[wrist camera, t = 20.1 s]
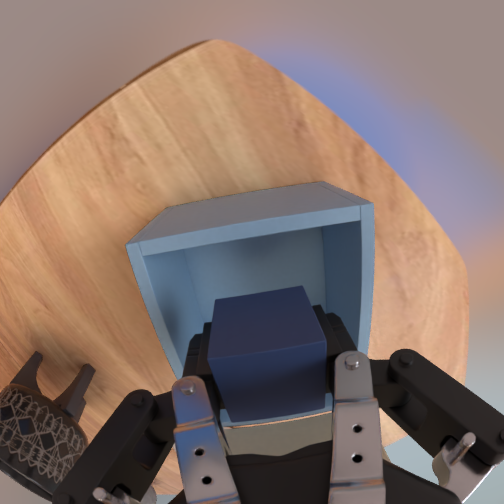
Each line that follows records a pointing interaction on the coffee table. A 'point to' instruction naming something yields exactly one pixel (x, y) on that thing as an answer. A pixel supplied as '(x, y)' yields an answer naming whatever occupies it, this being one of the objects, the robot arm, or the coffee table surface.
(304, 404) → the block
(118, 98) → the coffee table surface
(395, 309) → the coffee table surface
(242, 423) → the light blue open box
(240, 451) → the lid
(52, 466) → the planter
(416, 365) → the robot arm
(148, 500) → the decorative ball
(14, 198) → the coffee table surface
